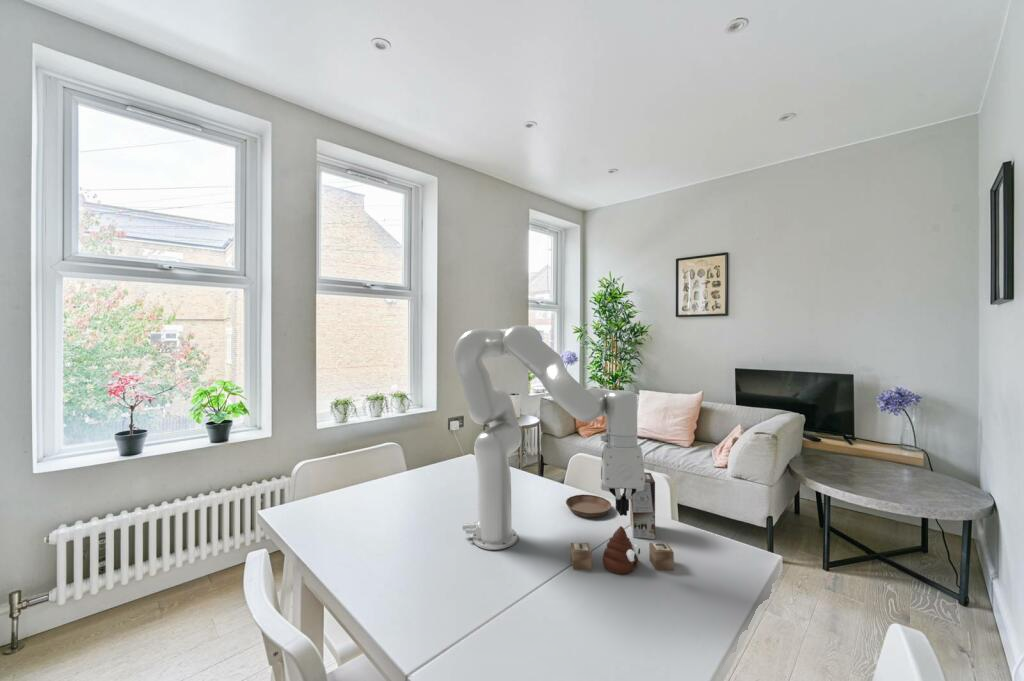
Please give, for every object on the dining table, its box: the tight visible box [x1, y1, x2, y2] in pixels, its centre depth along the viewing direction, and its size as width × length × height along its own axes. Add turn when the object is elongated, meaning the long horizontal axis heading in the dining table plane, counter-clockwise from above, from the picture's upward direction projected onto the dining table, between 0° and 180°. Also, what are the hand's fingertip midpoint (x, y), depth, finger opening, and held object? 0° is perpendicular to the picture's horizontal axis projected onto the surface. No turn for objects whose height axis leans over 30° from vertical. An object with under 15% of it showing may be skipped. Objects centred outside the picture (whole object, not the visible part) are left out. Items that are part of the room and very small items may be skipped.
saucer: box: [565, 494, 612, 518], centre depth 137 cm, size 15×15×3 cm
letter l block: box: [648, 542, 675, 571], centre depth 103 cm, size 4×4×5 cm
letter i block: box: [570, 542, 592, 571], centre depth 104 cm, size 4×4×5 cm
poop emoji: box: [602, 525, 641, 575], centre depth 103 cm, size 10×8×9 cm
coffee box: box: [629, 471, 656, 540], centre depth 121 cm, size 9×6×16 cm
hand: (622, 513), depth 103 cm, fingers closed
